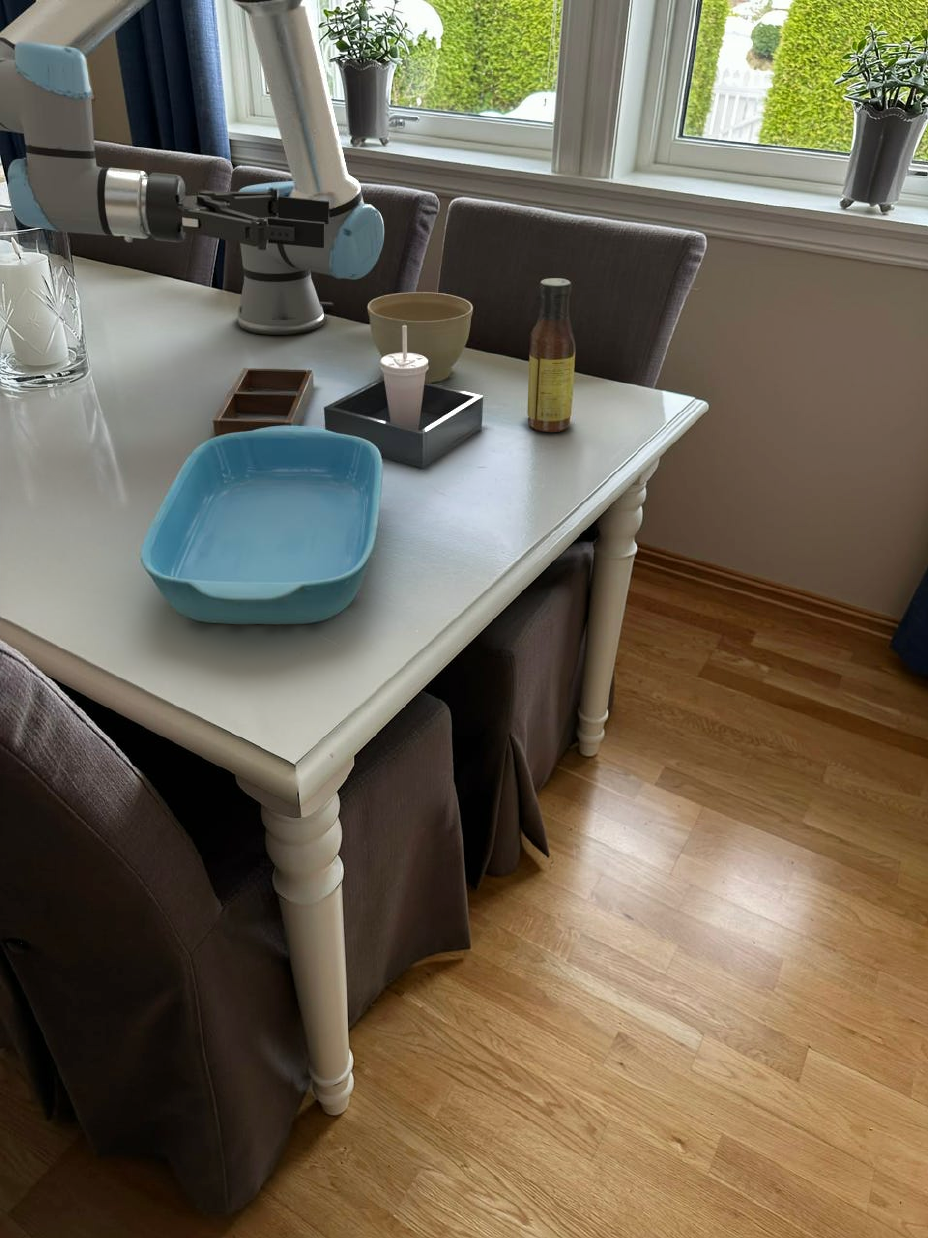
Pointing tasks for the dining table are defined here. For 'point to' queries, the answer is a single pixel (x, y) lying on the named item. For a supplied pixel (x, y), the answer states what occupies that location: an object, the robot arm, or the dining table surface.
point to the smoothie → (404, 385)
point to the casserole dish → (267, 526)
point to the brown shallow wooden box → (265, 399)
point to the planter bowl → (422, 328)
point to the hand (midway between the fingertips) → (327, 223)
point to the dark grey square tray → (439, 431)
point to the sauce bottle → (551, 360)
